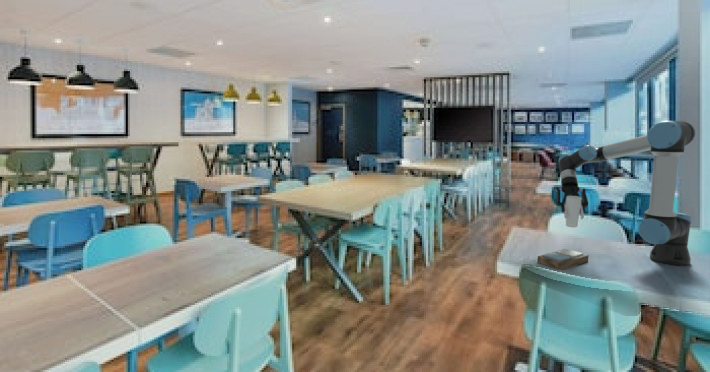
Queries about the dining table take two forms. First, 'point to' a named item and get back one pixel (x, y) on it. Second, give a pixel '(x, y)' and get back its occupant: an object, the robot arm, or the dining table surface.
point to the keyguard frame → (563, 264)
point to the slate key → (557, 257)
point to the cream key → (570, 253)
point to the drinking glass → (573, 210)
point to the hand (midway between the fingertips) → (574, 217)
